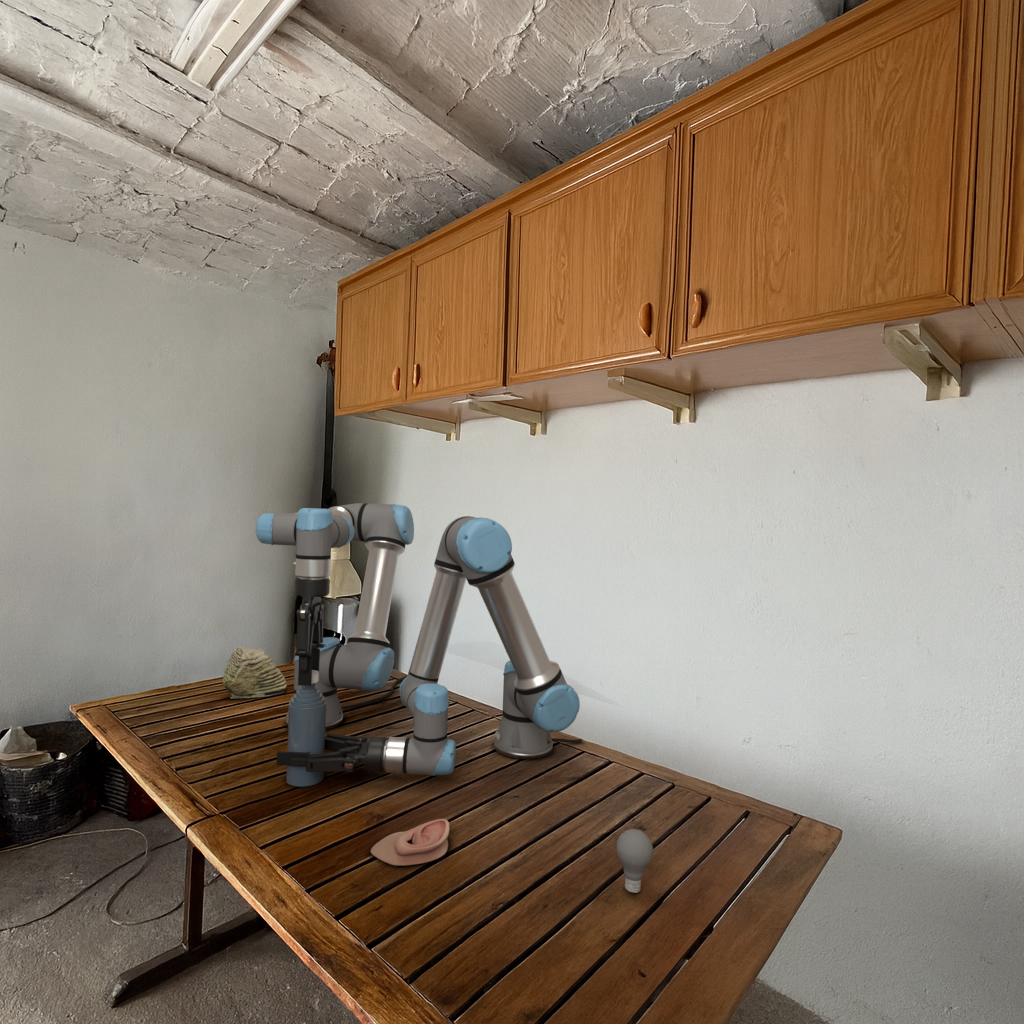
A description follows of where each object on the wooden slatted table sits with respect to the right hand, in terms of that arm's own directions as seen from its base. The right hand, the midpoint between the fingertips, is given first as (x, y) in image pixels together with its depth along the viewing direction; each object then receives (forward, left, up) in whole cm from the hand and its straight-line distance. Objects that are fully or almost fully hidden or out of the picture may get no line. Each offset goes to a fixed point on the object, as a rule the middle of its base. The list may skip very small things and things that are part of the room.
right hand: (284, 750), depth 142 cm
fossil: (+3, -63, -6) cm, 64 cm away
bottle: (-4, +2, -6) cm, 8 cm away
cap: (-4, +2, +18) cm, 18 cm away
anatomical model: (-18, +38, -6) cm, 43 cm away
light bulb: (-50, +63, -6) cm, 80 cm away
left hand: (-4, +2, +16) cm, 17 cm away
